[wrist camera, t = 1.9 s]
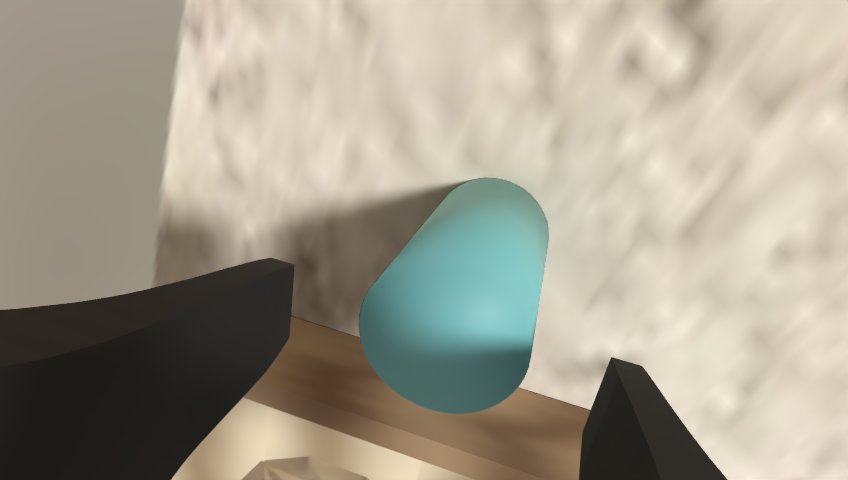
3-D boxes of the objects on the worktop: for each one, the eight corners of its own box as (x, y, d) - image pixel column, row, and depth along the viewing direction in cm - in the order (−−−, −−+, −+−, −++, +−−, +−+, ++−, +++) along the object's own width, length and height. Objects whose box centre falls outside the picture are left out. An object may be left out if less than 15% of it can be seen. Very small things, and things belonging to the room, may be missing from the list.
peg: (570, 255, 17) (566, 378, 11) (473, 302, 19) (421, 434, 13) (508, 155, 17) (465, 226, 10) (412, 213, 18) (327, 305, 12)
